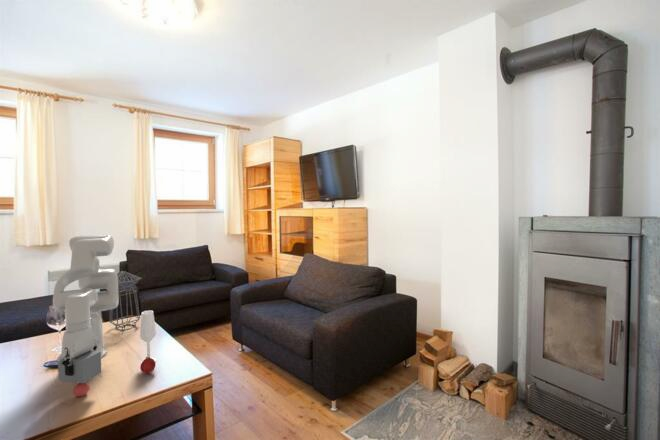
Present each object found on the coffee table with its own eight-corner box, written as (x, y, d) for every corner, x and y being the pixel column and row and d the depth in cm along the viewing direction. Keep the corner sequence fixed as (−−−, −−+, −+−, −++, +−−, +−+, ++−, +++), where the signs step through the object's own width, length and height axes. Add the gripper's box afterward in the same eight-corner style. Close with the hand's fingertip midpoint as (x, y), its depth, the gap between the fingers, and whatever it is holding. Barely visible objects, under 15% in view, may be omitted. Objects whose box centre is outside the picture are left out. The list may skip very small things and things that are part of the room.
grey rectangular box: (58, 380, 122) (57, 358, 121) (77, 370, 129) (76, 349, 129) (83, 383, 120) (82, 360, 119) (101, 373, 127) (100, 351, 127)
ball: (81, 392, 121) (76, 401, 122) (94, 385, 126) (88, 394, 127) (73, 383, 122) (68, 392, 123) (86, 376, 127) (81, 385, 128)
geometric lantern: (118, 334, 184) (114, 274, 182) (105, 329, 192) (101, 272, 190) (145, 325, 197) (142, 269, 196) (132, 321, 205) (129, 267, 204)
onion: (144, 370, 143) (144, 353, 142) (158, 370, 143) (157, 353, 143) (138, 377, 137) (137, 359, 137) (151, 377, 138) (151, 359, 137)
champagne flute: (149, 365, 147) (148, 315, 146) (137, 364, 149) (135, 314, 148) (160, 358, 154) (158, 310, 153) (148, 357, 155) (146, 309, 154)
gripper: (90, 317, 133) (92, 358, 134) (47, 333, 116) (48, 380, 116) (106, 318, 132) (107, 360, 132) (64, 334, 115) (66, 382, 115)
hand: (80, 369), depth 124 cm, fingers closed on grey rectangular box, 7 cm apart
